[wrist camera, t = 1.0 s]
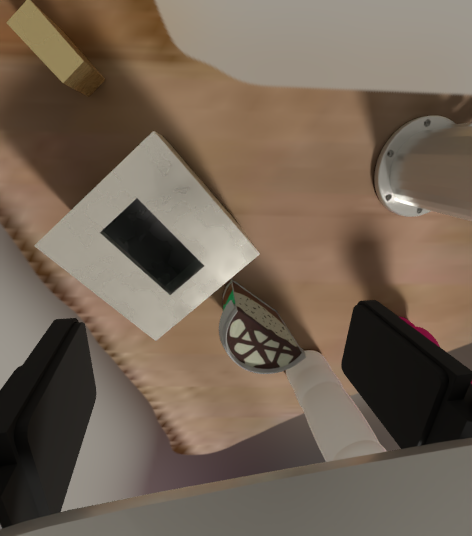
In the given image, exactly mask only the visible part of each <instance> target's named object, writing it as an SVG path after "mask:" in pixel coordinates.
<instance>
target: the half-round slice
mask: <svg viewBox="0 0 472 536" xmlns="http://www.w3.org/2000/svg"><path fill="white" fill-rule="evenodd" d="M219 336H220V340H221V343H222V345H223V347H224V349H225V350H226V352H227V354H228V355H229V357H230V358H231V359H232V360H233V361H234V362H235V363H236V364H237V365H239V366H240V367H242V368H243V369H245V370H248V371H250V372H254V373H260V374H271V373H278V372H282V371H285V370H287V369H290V368H292V367H293V366H295V365H297V364H298V363H300V362H301V361H302V360H304V359H305V358H306V356H305V355H306V354H305V352H304V350H303V348H300V346H299V345H298V343H297V342H296V340H295V338H294V337H293V335H292V334H291V332H290V331H289V329H288V328H287V326H286V324H285V323H284V321H283V320H282V318H281V317H280V315H279V314H278V312H277V311H276V310H274V309H273V308H272V307H270V306H269V305H267V304H266V303H265V302H263V301H262V300H260V299H259V298H258V297H256V296H255V295H253V294H252V293H251V292H249V291H248V290H246V289H245V288H244V287H242V286H241V285H239V284H238V283H237V282H235V281H234V280H232V279H230V280H229V281H228V283H227V284H226V286H225V289H224V292H223V313H222V316H221V318H220V323H219Z"/></svg>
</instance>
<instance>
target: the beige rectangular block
mask: <svg viewBox="0 0 472 536" xmlns="http://www.w3.org/2000/svg"><path fill="white" fill-rule="evenodd" d="M7 24H8V25H9V26H10V27H11V28H12V29H13V30H14V31H15V33H16V34H17V35H18V36H19V37H20V38H21V39H22V40H23V41H24V42H25V43H26V44H27V45H28V46H29V47H30V49H31V50H32V51H33V52H34V53H35V54H36V55H37V56H38V57H39V58H40V59H41V60H42V61H43V62H44V64H45V65H46V66H47V67H48V68H49V69H50V70H51V71H52V72H53V73H54V74H55V75H56V76H57V77H58V78H59V80H60V81H61V82H62V83H63V84H65V85H67V86H69V87H71V88H73V89H75V90H77V91H78V92H80V93H82V94H84V95H86V96H88V97H89V96H90V95H91V94H92V93H93V92H94V91H95V90H96V89H97V88H98V87H99V86H100V85H101V84H102V83H103V82H104V81H105V79H104V77H103V76H102V75H101V74H100V73H99V72H98V71H97V69H96V68H95V67H94V66H93V65H92V64H91V63H90V61H89V60H88V59H87V58H86V57H85V56H84V54H83V53H82V52H81V51H80V50H79V49H78V48H77V46H76V45H75V44H74V43H73V42H72V41H71V40H70V38H69V37H68V36H67V35H66V34H65V33H64V32H63V31H62V30H61V29H60V28H59V27H58V26H57V25H56V24H55V23H54V22H53V21H52V20H51V19H50V18H49V17H48V16H47V15H46V14H45V13H44V12H42V11H41V10H40V9H39V8H38V7H37V6H36V5H35V4H34V3H33V2H32V1H31V0H26V1H25V2H24V4H23V5H22V6H21V7H20V8H19V9H18V10H17V12H16V13H15V14H14V15H13V16H12V17H11V18H10V19H9V21H8V22H7Z"/></svg>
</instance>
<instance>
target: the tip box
mask: <svg viewBox="0 0 472 536" xmlns="http://www.w3.org/2000/svg"><path fill="white" fill-rule="evenodd" d="M35 247H36V248H38V249H39V250H40V251H41V252H43V253H44V254H45V255H46V256H48V257H49V258H50V259H52V260H53V261H54V262H55V263H57V264H58V265H59V266H61V267H62V268H63V269H64V270H66V271H67V272H68V273H69V274H71V275H72V276H73V277H75V278H76V279H77V280H78V281H80V282H81V283H82V284H84V285H85V286H86V287H87V288H89V289H90V290H91V291H92V292H94V293H95V294H96V295H98V296H99V297H100V298H101V299H103V300H104V301H105V302H107V303H108V304H109V305H110V306H112V307H113V308H114V309H115V310H117V311H118V312H119V313H121V314H122V315H123V316H124V317H126V318H127V319H128V320H130V321H131V322H132V323H133V324H135V325H136V326H137V327H139V328H140V329H141V330H142V331H144V332H145V333H146V334H147V335H149V336H150V337H151V338H153V339H154V340H155V341H156V340H158V339H159V338H160V337H161V336H162V335H164V334H165V333H166V332H167V331H168V330H170V329H171V328H172V327H173V326H174V325H176V324H177V323H178V322H179V321H180V320H182V319H183V318H184V317H185V316H186V315H188V314H189V313H190V312H191V311H192V310H194V309H195V308H196V307H197V306H198V305H200V304H201V303H202V302H203V301H204V300H206V299H207V298H208V297H209V296H210V295H212V294H213V293H214V292H215V291H216V290H218V289H219V288H220V287H221V286H222V285H224V284H225V283H226V282H227V281H228V280H230V279H231V278H232V277H233V276H234V275H236V274H237V273H238V272H239V271H240V270H242V269H243V268H244V267H245V266H246V265H248V264H249V263H250V262H251V261H252V260H254V259H255V258H256V257H257V256H258V255H260V253H259V252H258V250H257V249H256V248H255V246H254V245H253V243H252V242H251V241H250V239H249V238H248V236H247V235H246V233H245V232H244V231H243V229H242V228H241V226H240V225H239V224H238V223H237V222H236V221H235V219H234V218H233V217H232V216H231V215H230V214H229V212H228V211H227V210H226V209H225V208H224V207H223V205H222V204H221V203H220V202H219V201H218V200H217V198H216V197H215V196H214V195H213V194H212V193H211V191H210V190H209V189H208V188H207V187H206V185H205V184H204V183H203V182H202V181H201V180H200V178H199V177H198V176H197V175H196V174H195V173H194V171H193V170H192V169H191V168H190V167H189V166H188V164H187V163H186V162H185V161H184V160H183V159H182V157H181V156H180V155H179V154H178V153H177V152H176V150H175V149H174V148H173V147H172V146H171V145H170V143H169V142H168V141H167V140H166V139H165V138H164V136H162V135H160V134H159V133H157V132H155V131H153V132H152V133H151V134H150V135H149V136H148V137H147V138H146V139H145V140H144V141H142V142H141V143H140V144H139V145H138V146H137V147H136V148H135V149H134V150H133V151H132V152H131V153H130V154H129V155H128V156H127V157H126V158H125V159H124V160H123V161H122V162H121V163H120V164H119V165H118V166H117V167H116V168H114V169H113V170H112V171H111V172H110V173H109V174H108V175H107V176H106V177H105V178H104V179H103V180H102V181H101V182H100V183H99V184H98V185H97V186H96V187H95V188H94V189H93V190H92V191H91V192H90V193H89V194H87V195H86V196H85V197H84V198H83V199H82V200H81V201H80V202H79V203H78V204H77V205H76V206H75V207H74V208H73V209H72V210H71V211H70V212H69V213H68V214H67V215H66V216H65V217H64V218H63V219H62V220H61V221H59V222H58V223H57V224H56V225H55V226H54V227H53V228H52V229H51V230H50V231H49V232H48V233H47V234H46V235H45V236H44V237H43V238H42V239H41V240H40V241H39V242H38V243H37V244H36V245H35Z"/></svg>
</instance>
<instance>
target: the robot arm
mask: <svg viewBox="0 0 472 536" xmlns="http://www.w3.org/2000/svg"><path fill="white" fill-rule="evenodd" d="M374 181H375V189H376V193H377V196H378V198H379V200H380V202H381V203H382V204H383V205H384V207H385V208H387V209H388V210H389V211H391V212H393V213H395V214H398V215H402V216H408V217H414V216H420V215H423V214H426V213H428V212H430V211H433V212H437V213H441V214H445V215H449V216H453V217H457V218H461V219H465V220H469V221H472V122H470V123H463V124H455V123H454V122H453V121H452V120H450V119H448V118H446V117H442V116H424V117H419V118H416V119H414V120H411V121H409V122H408V123H406V124H404V125H403V126H401V127H400V128H399V129H398V130H397V131H395V132H394V134H393V135H392V136H391V137H390V138H389V139H388V141H387V142H386V144H385V145H384V147H383V149H382V151H381V153H380V155H379V157H378V160H377V164H376V168H375V176H374ZM341 365H342V370H343V372H344V374H345V375H346V377H347V378H348V379H349V381H350V382H351V383H352V385H353V386H354V387H355V389H356V390H357V391H358V392H359V394H360V395H361V396H362V398H363V399H364V400H365V402H366V403H367V404H368V406H369V407H370V408H371V409H372V411H373V412H374V413H375V415H376V416H377V417H378V419H379V420H380V421H381V423H382V424H383V425H384V427H385V428H386V429H387V431H388V432H389V433H390V435H391V436H392V437H393V438H394V440H395V441H396V442H397V444H398V445H399V446H400V448H401V449H399V450H392V451H387V452H381V453H375V454H369V455H363V456H357V457H352V458H346V459H340V460H335V461H329V462H324V463H318V464H312V465H306V466H301V467H295V468H290V469H284V470H278V471H273V472H268V473H262V474H256V475H250V476H245V477H239V478H234V479H229V480H223V481H218V482H212V483H207V484H202V485H196V486H190V487H185V488H179V489H174V490H169V491H163V492H158V493H153V494H147V495H142V496H137V497H132V498H127V499H123V500H117V501H112V502H107V503H102V504H97V505H92V506H87V507H82V508H77V509H72V510H68V511H64V512H61V508H62V505H63V502H64V499H65V496H66V493H67V489H68V486H69V483H70V480H71V476H72V473H73V470H74V467H75V464H76V461H77V457H78V454H79V451H80V448H81V445H82V441H83V438H84V435H85V432H86V429H87V425H88V423H89V419H90V416H91V413H92V410H93V407H94V403H95V399H96V386H95V380H94V374H93V368H92V363H91V357H90V351H89V345H88V340H87V334H86V328H85V324H84V323H83V322H81V323H79V322H78V320H77V319H76V318H70V319H56V320H54V321H53V323H52V324H51V326H50V327H49V328H48V330H47V331H46V333H45V334H44V335H43V337H42V338H41V340H40V341H39V343H38V344H37V345H36V347H35V348H34V350H33V351H32V353H31V354H30V355H29V357H28V358H27V360H26V361H25V363H24V364H23V365H22V366H20V367H18V368H17V369H16V370H15V371H14V372H13V374H12V375H11V376H10V378H9V379H8V381H7V382H6V383H5V385H4V386H3V387H2V389H1V390H0V536H472V384H471V381H472V371H471V370H470V369H468V368H467V367H466V366H464V365H463V364H462V363H460V362H459V361H457V360H456V359H455V358H454V357H452V356H451V355H449V354H448V353H447V352H445V351H444V350H443V349H441V348H440V347H439V346H437V345H436V344H435V343H433V342H432V341H431V340H429V339H428V338H427V337H425V336H424V335H423V334H421V333H420V332H419V331H417V330H416V329H414V328H413V327H412V326H410V325H409V324H408V323H406V322H405V321H404V320H402V319H401V318H400V317H398V316H397V315H396V314H394V313H393V312H392V311H390V310H389V309H388V308H386V307H385V306H383V305H382V304H381V303H379V302H378V301H376V300H369V301H360V302H359V303H358V304H357V305H356V306H355V307H354V309H353V313H352V317H351V322H350V327H349V331H348V336H347V340H346V345H345V349H344V354H343V358H342V364H341Z"/></svg>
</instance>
